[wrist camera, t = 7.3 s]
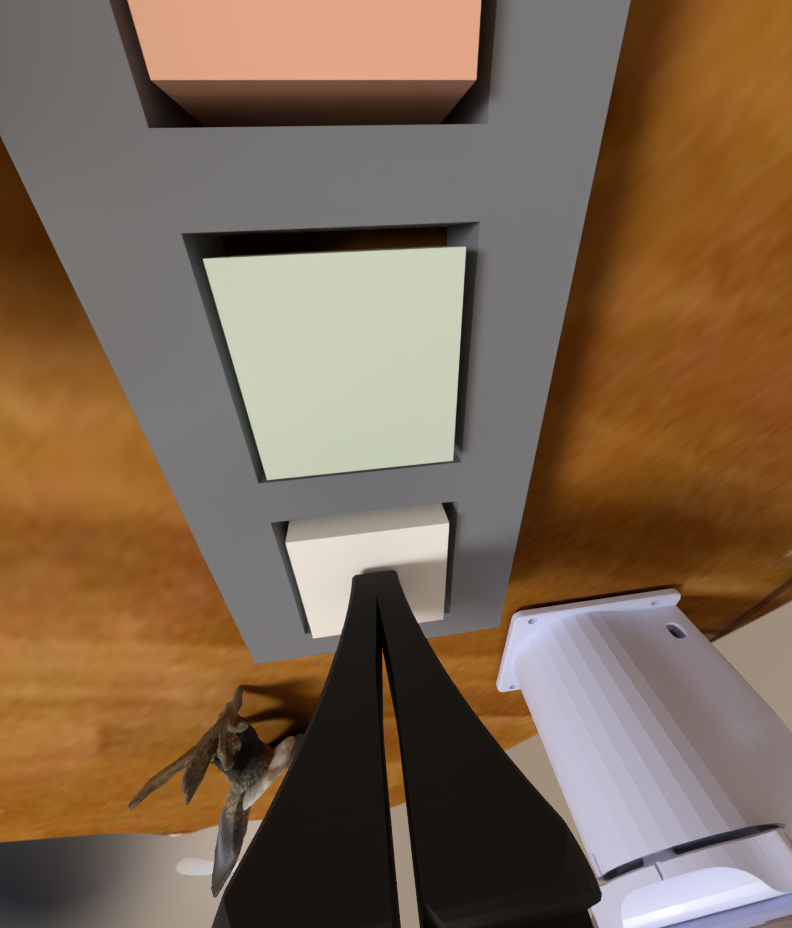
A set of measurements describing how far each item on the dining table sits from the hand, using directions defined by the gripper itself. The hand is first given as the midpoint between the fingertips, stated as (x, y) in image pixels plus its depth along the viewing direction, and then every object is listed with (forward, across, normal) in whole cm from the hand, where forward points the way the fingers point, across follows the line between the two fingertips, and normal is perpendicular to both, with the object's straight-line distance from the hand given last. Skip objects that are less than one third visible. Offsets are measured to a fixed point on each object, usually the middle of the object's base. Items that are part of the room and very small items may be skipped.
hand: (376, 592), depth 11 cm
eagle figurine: (+4, +8, +15) cm, 17 cm away
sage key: (+3, 0, -7) cm, 8 cm away
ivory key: (+3, 0, 0) cm, 3 cm away
